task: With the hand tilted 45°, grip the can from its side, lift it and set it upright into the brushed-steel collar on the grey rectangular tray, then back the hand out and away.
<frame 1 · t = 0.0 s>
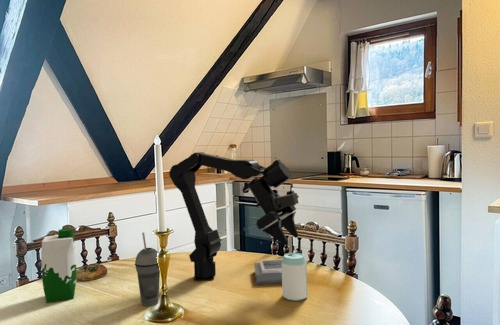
hand: (292, 240, 110), 15 cm above the table, tool tilted 35°, fingers open, 9 cm apart
bread roll: (90, 277, 129), on the table
grey rectangular tray: (276, 276, 122), on the table
can: (294, 297, 105), on the table
milk carton: (60, 297, 111), on the table
beverage cup: (149, 303, 104), on the table
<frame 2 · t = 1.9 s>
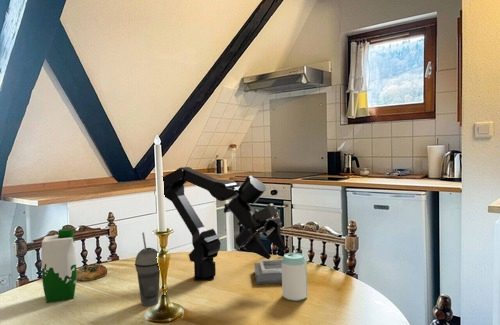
hand: (277, 254, 108), 12 cm above the table, tool tilted 45°, fingers open, 9 cm apart
nothing on the table moved.
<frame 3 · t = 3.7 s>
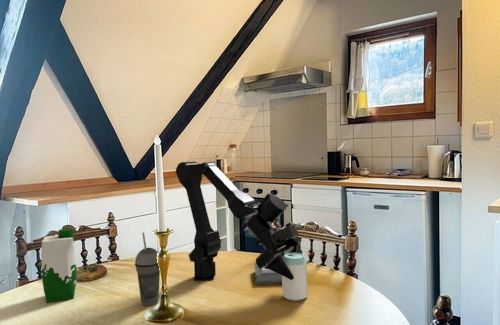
hand: (298, 274, 104), 7 cm above the table, tool tilted 45°, fingers closed on can, 7 cm apart
can: (294, 297, 105), on the table, touching gripper
everything else where it was.
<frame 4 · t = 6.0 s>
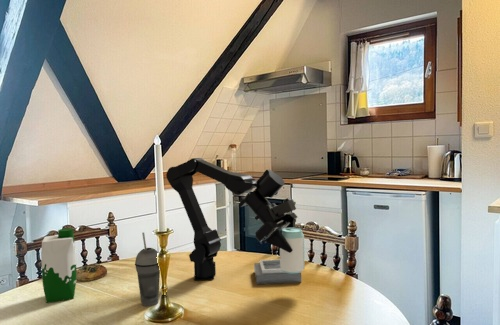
hand: (296, 248, 107), 13 cm above the table, tool tilted 45°, fingers closed on can, 7 cm apart
can: (292, 270, 108), point 7 cm above the table, touching gripper
everything else where it was.
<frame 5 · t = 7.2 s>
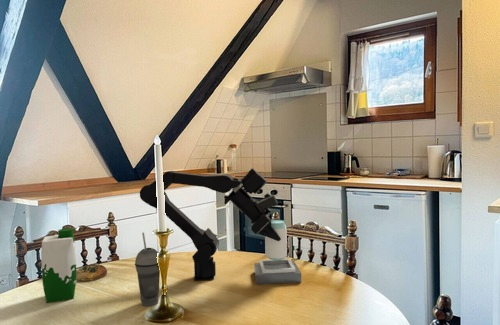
hand: (279, 237, 121), 13 cm above the table, tool tilted 45°, fingers closed on can, 7 cm apart
can: (276, 258, 122), point 6 cm above the table, touching gripper
everything else where it was.
when the fingers open (11 cm above the table, at t = 8.3 s): can drops 1 cm, resting on grey rectangular tray.
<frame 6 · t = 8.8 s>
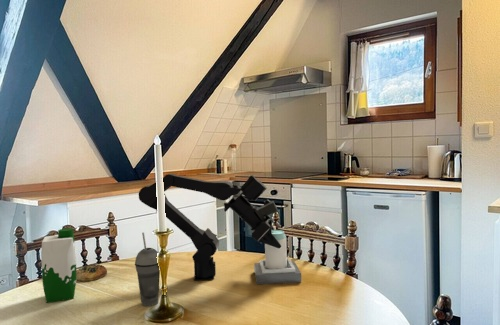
hand: (280, 243, 122), 11 cm above the table, tool tilted 45°, fingers open, 9 cm apart
can: (276, 268, 122), point 3 cm above the table, touching grey rectangular tray
everything else where it was.
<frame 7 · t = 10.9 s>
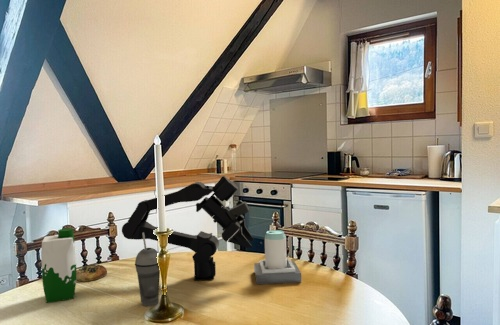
hand: (251, 243, 122), 11 cm above the table, tool tilted 45°, fingers open, 9 cm apart
nothing on the table moved.
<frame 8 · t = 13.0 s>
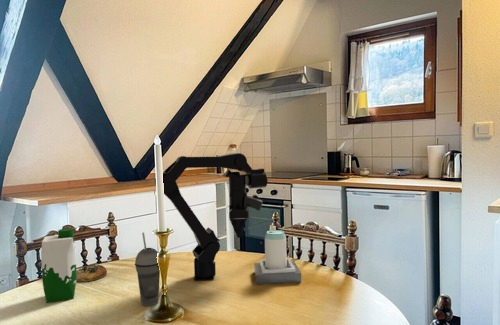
hand: (238, 234, 128), 13 cm above the table, tool pointing down, fingers open, 9 cm apart
nothing on the table moved.
at the end: can 0.2 cm off-centre on the grey rectangular tray, point 2.8 cm above the grey rectangular tray's base; can tilted 0°; the gripper is holding nothing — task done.
